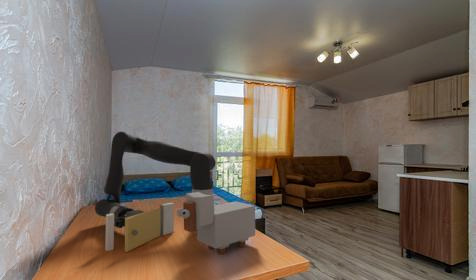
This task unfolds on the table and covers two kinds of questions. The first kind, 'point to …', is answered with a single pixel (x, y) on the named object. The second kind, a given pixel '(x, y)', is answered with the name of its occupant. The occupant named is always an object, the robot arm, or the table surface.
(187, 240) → the table surface
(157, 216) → the door
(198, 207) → the toy
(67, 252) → the table surface
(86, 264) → the table surface
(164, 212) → the wall frame
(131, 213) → the rubber block
